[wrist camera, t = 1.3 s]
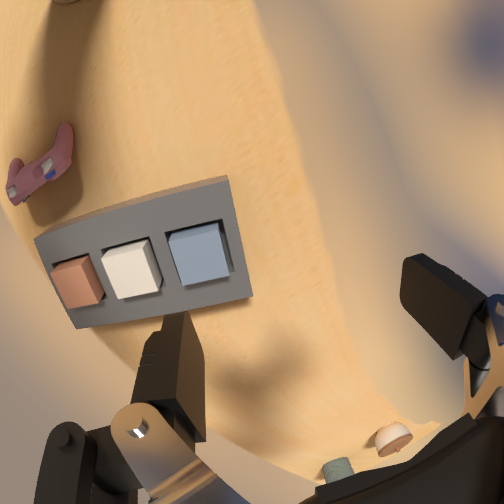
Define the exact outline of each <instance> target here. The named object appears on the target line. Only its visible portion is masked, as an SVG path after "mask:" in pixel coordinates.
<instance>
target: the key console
mask: <svg viewBox="0 0 504 504" xmlns="http://www.w3.org/2000/svg"><path fill="white" fill-rule="evenodd" d="M214 222H218V224H219V228H220V232H221V237H222V241H223V245H224V249H225V253H226V257H227V261H228V267H229V274H230V276H226V277H221V278H217V279H212V280H208V281H203V282H198V283H194V284H189V285H185V286H183V285H182V282H181V279H180V276H179V273H178V270H177V267H176V264H175V261H174V258H173V255H172V252H171V249H170V246H169V242H168V241H169V239H170V237H171V234H172V232H176V231H180V230H184V229H188V228H193V227H197V226H201V225H205V224H210V223H214ZM144 239H149V242H150V245H151V248H152V251H153V254H154V257H155V260H156V263H157V265H158V268H159V271H160V274H161V277H162V281H161V284H160V287H159V290H158V291H156V292H151V293H146V294H142V295H137V296H132V297H127V298H122V299H118V298H117V296H116V293H115V291H114V289H113V287H112V284H111V282H110V280H109V277H108V275H107V273H106V270H105V268H104V265H103V263H102V260H101V258H102V257H103V256H104V255H105V253H106V252H107V251H108V250H109V249H110V248H114V247H118V246H121V245H125V244H129V243H133V242H137V241H140V240H144ZM34 242H35V245H36V247H37V250H38V252H39V255H40V257H41V260H42V262H43V264H44V267H45V269H46V271H47V274H48V276H49V278H50V280H51V282H52V284H53V286H54V289H55V291H56V293H57V295H58V296H59V298H60V300H61V303H62V304H63V306H64V308H65V310H66V312H67V314H68V315H69V317H70V319H71V321H72V323H73V324H74V326H75V328H76V329H81V328H88V327H95V326H102V325H108V324H114V323H120V322H126V321H132V320H138V319H144V318H149V317H155V316H160V315H166V314H171V313H176V312H181V311H186V310H191V309H196V308H201V307H206V306H211V305H216V304H220V303H225V302H230V301H234V300H239V299H243V298H248V297H252V296H253V292H252V288H251V283H250V279H249V274H248V269H247V265H246V260H245V255H244V251H243V246H242V241H241V237H240V232H239V227H238V223H237V218H236V213H235V208H234V204H233V199H232V194H231V189H230V184H229V180H228V177H227V175H224V176H219V177H215V178H210V179H206V180H202V181H198V182H194V183H190V184H186V185H182V186H178V187H174V188H170V189H166V190H163V191H159V192H155V193H152V194H148V195H145V196H141V197H138V198H135V199H131V200H128V201H125V202H121V203H118V204H115V205H112V206H109V207H106V208H103V209H100V210H97V211H94V212H91V213H88V214H85V215H82V216H80V217H77V218H74V219H71V220H69V221H66V222H63V223H61V224H58V225H55V226H53V227H50V228H49V229H47V230H46V231H44V232H43V233H42V234H40V235H39V236H37V237H36V238H35V239H34ZM85 255H90V257H91V260H92V262H93V265H94V267H95V270H96V272H97V274H98V277H99V279H100V281H101V284H102V286H103V288H104V290H105V293H104V295H103V296H102V298H101V300H100V301H99V303H97V304H91V305H86V306H81V307H76V308H71V309H67V307H66V305H65V303H64V301H63V299H62V297H61V295H60V293H59V291H58V289H57V287H56V285H55V283H54V281H53V279H52V276H51V274H50V273H51V272H52V271H53V270H54V269H55V268H56V267H57V266H58V265H59V264H60V263H62V262H65V261H68V260H72V259H75V258H79V257H82V256H85Z"/></svg>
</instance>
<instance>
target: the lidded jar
mask: <svg viewBox="0 0 504 504" xmlns="http://www.w3.org/2000/svg"><path fill="white" fill-rule="evenodd" d="M412 438H413V436H412V434H411V433H410V431H409V430H408V429H407V427H406V426H405V425H403V424H401V423H395V422H390V423H388V424H386V425H384V426H383V427H381V428H380V429H379V430H378V431H377V435H376V437H375V447H376V450H377V452H378V455H379V457H384V456H388V455H390V454H392V453H394V452H396V451H397V452H399V451H400V449H401V448H403V447H404V446H405V445H407V444H408V443H409V442H410V441H411V440H412Z"/></svg>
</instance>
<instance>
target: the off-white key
mask: <svg viewBox="0 0 504 504" xmlns="http://www.w3.org/2000/svg"><path fill="white" fill-rule="evenodd" d="M101 260H102V263H103V265H104V268H105V270H106V273H107V275H108V277H109V280H110V282H111V284H112V287H113V289H114V291H115V293H116V296H117V298H118V299H122V298H127V297H132V296H137V295H142V294H146V293H151V292H156V291H158V290H159V287H160V284H161V281H162V277H161V274H160V271H159V268H158V265H157V263H156V260H155V257H154V254H153V251H152V248H151V245H150V242H149V239H144V240H140V241H137V242H133V243H129V244H125V245H121V246H118V247H114V248H110V249H109V250H108V251H107V252H106V253H105V255H104V256H103V257H102V258H101Z"/></svg>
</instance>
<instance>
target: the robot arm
mask: <svg viewBox="0 0 504 504" xmlns="http://www.w3.org/2000/svg"><path fill="white" fill-rule="evenodd" d="M55 1H57V2H59V3H63V4H65V3H71V2H75V1H78V0H55ZM400 301H401V303H402V306H403V307H404V309H405V310H406V311H407V312H408V313H409V314H410V315H411V316H412V317H413V318H414V319H415V320H416V321H417V322H418V323H419V324H420V325H421V326H422V327H423V328H424V329H425V330H426V332H428V334H429V335H430V336H431V337H432V338H433V339H434V340H435V341H436V342H437V343H438V344H439V345H440V347H441V348H442V349H443V350H444V351H445V352H446V353H447V354H448V355H449V357H450V358H451V359H452V360H455V359H457V358H458V357H460V356H461V355H463V354H465V356H466V358H465V360H464V382H465V406H464V410H463V413H462V416H461V418H460V419H458V420H457V421H455V422H454V423H452V424H451V425H450V426H448V427H447V428H445V429H443V430H442V431H440V432H439V433H438V434H437V435H436V436H435V437H434V438H433V439H432V440H431V441H430V442H429V443H428V444H427V445H426V446H425V447H424V448H423V449H422V450H421V451H419V452H418V454H416V455H415V456H414V457H413V458H412V459H410V460H409V461H407V462H404V463H400V464H397V465H392V466H388V467H383V468H378V469H373V470H368V471H362V472H359V473H356V474H354V475H351V476H348V477H345V478H343V479H340V480H337V481H334V482H331V483H327V484H324V485H321V486H317V487H315V495H313V496H311V497H309V498H307V499H305V500H304V501H302V502H301V503H299V504H504V294H493V295H491V296H489V297H487V296H486V295H485V294H483V293H482V292H481V291H480V290H478V289H477V288H475V287H474V286H473V285H472V284H470V283H469V282H467V281H466V280H463V279H462V277H461V276H459V275H458V274H455V272H453V271H452V270H450V269H449V268H447V267H446V266H443V265H441V264H439V263H437V262H436V261H434V260H433V259H431V258H430V257H428V256H427V255H425V254H423V253H420V254H417V255H414V256H410V257H407V258H405V259H404V261H403V268H402V277H401V287H400ZM198 442H206V423H205V362H204V354H203V350H202V346H201V343H200V341H199V338H198V336H197V333H196V331H195V328H194V326H193V323H192V320H191V318H190V315H189V313H188V312H187V311H183V312H177V313H172V314H166V315H165V316H164V319H163V324H162V328H161V331H156V332H153V333H152V334H151V336H150V337H149V338H148V340H147V341H146V342H145V345H144V349H143V352H142V357H141V360H140V367H139V368H138V372H137V377H136V381H135V385H134V390H133V394H132V399H131V404H130V405H127V406H125V407H124V408H122V409H121V410H120V411H119V412H118V413H117V414H116V415H115V416H114V418H113V420H112V423H111V425H109V426H106V427H102V428H98V429H95V430H91V431H87V432H86V431H85V430H83V429H82V428H81V427H80V426H79V425H78V424H77V423H74V422H64V423H61V424H59V425H57V426H56V427H55V428H54V429H53V430H52V431H51V433H50V434H49V437H48V439H47V443H46V446H45V450H44V454H43V458H42V462H41V466H40V472H39V476H38V481H37V487H36V492H35V498H34V504H138V497H137V495H138V489H140V488H144V489H145V490H146V491H147V493H148V494H149V496H150V500H149V501H148V502H149V504H250V503H249V502H248V501H247V500H245V499H244V498H243V497H241V496H240V495H239V494H238V493H237V492H236V491H235V490H233V489H232V488H231V487H230V486H229V485H228V484H226V483H225V482H224V481H223V480H222V479H221V478H220V477H219V476H218V475H217V474H215V473H214V472H213V471H212V470H211V469H210V468H209V467H208V466H207V465H206V464H205V463H204V462H203V461H202V460H201V459H200V458H199V457H198V456H197V455H196V454H195V443H198ZM91 490H92V492H91ZM90 501H91V503H90Z"/></svg>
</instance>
